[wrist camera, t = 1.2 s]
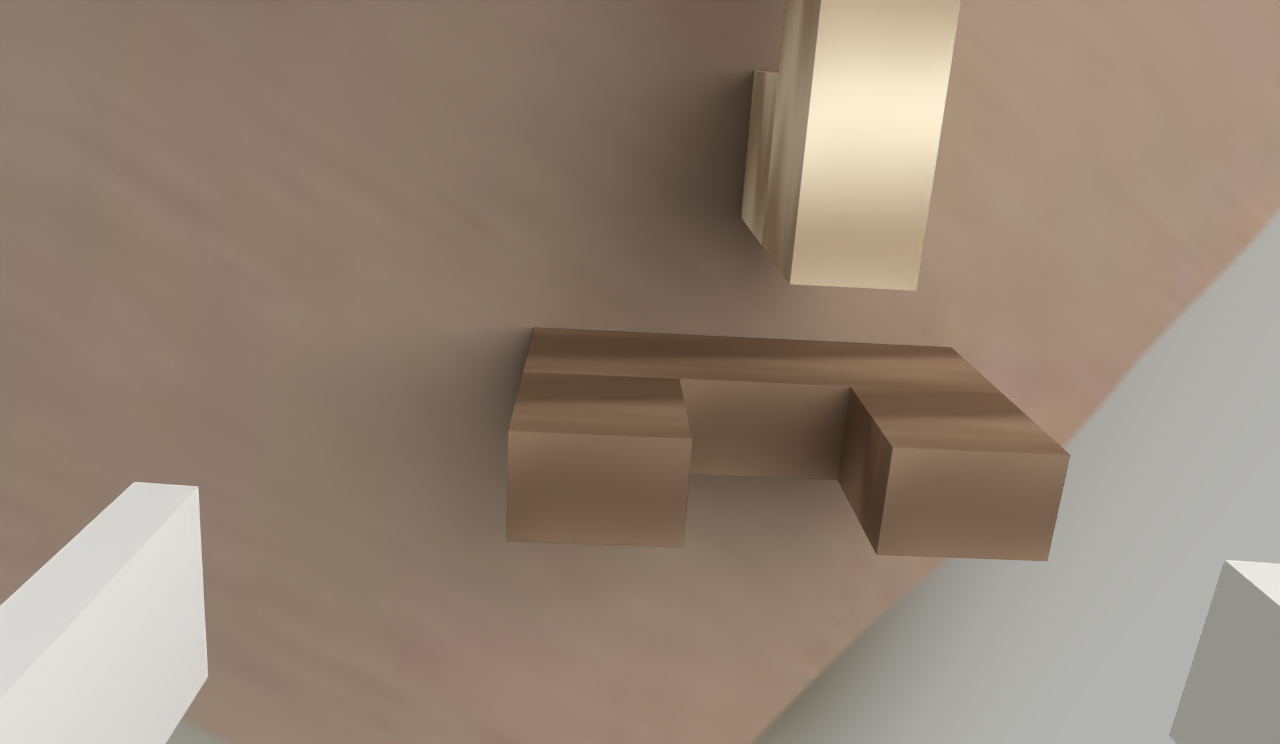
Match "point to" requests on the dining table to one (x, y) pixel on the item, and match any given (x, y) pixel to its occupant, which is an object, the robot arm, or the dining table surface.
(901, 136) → the cross plate
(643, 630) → the dining table surface
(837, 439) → the slotted base
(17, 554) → the dining table surface
